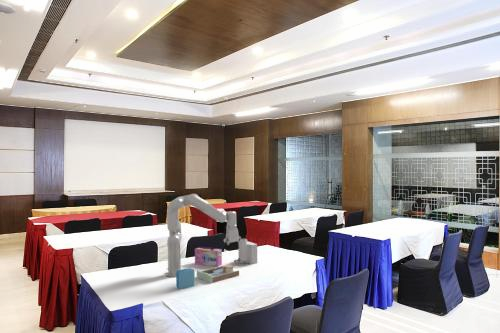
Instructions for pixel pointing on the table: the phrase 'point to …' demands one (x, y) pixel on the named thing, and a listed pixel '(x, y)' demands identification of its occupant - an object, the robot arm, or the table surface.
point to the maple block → (227, 268)
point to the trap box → (216, 274)
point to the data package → (185, 278)
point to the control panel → (247, 252)
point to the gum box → (208, 256)
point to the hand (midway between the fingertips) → (232, 248)
